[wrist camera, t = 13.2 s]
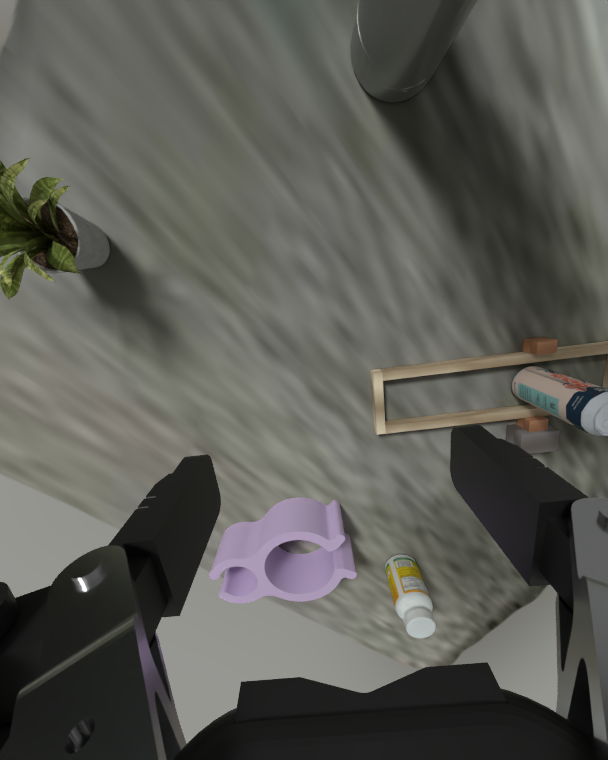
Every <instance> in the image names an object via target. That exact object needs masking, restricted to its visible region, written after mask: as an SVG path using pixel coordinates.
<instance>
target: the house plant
mask: <svg viewBox="0 0 608 760" xmlns="http://www.w3.org/2000/svg"><path fill="white" fill-rule="evenodd" d="M28 159H30V158H27V159H24V160H22V161H20V162H18V163H16V164H13V165H12V166H11V167H9V168H8V169H7V170H6V168H5V167H4V165H3V164H2V162H1V161H0V257H1V256H5V255H6V256H5V257H4V258H3V260H2V263H1V265H0V274H1V275H2V277H1V280H0V282H1V287H2V290H3V292H4V294H5V295H6V297H7V298H8V299H9V298H11V297H13V296H15V295H16V293H17V292H18V289H19V287H20V283H21V279H22V275H23V271H24V269H25V267H27V268H29V269H30V270H32V271H34V272H36V273H37V274H39V275H40V276H42V277H44V278H46V279H48V280H52V281H54V280H53V279H52V278H51V277H50V276H49V275H47V274H46V273H61V272H73V273H79V274H81V273H80V272H79V270H81V269H89V268H96V267H100V266H102V265H103V264H104V263H105V262H106V261H107V259H108V257H109V252H110V247H109V242H108V239H107V237H106V235H105V234H104V232H103V231H102V230H101V229H100V228H99V227H98V226H96V225H95V224H93V223H91V222H90V221H88V220H86V219H84V218H83V217H81V216H79V215H78V214H76V213H74V212H72V211H71V210H69V209H67V208H66V207H64V206H62V205H61V204H59V203H58V200H59V198H60V196H61V195H62V194H63V193H65V192H66V190H67V189H68V187H69V186H65V187H62V188H58V189H56V190H54V189H55V187H56V185H57V183H58V182H59V181H60V180H64V179H58V178H51V177H45V178H42V179H39V180H38V181H36V183H35V184H34V185H33V188H32V191H31V194H30V197H27V198H24V199H23V198H22V197H21V196H20V194H19V193H18V191H17V189H16V187H15V185H14V182H15V179H16V176H17V175H18V174H19V173H20V172H21V171H22V170H23V169H24V167H25V164H26V162H27V160H28ZM53 190H54V191H53ZM48 197H49V198H48ZM15 253H18V254H19V255H18V256H16V257H15V258H13V259H12V260H11V261H10V262H9V263H8V265H7V266H6V268H5V271H3V266H4V264H5V263H6V261H7V259H8V258H9V256H11V255H13V254H15ZM9 300H10V299H9Z"/></svg>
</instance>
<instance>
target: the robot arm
mask: <svg viewBox="0 0 608 760" xmlns="http://www.w3.org/2000/svg"><path fill="white" fill-rule="evenodd" d="M476 2H477V0H359V1H358V6H357V12H356V17H355V23H354V28H353V34H352V42H351V59H352V64H353V68H354V72H355V74H356V76H357V79H358V81H359V82H360V84H361V85H362V87H363V88H364V89H365V90H366V91H367V92H368V93H369V94H370V95H371V96H373V97H375V98H377V99H378V100H381V101H385V102H400V101H404V100H407V99H409V98H411V97H413V96H414V95H416V94H417V93H418V92H419V91H421V90H422V89H423V88H424V87H425V86H426V84H427V83H428V82H429V80H430V79H431V78H432V76H433V74H434V72H435V71H436V69H437V67H438V66H439V64H440V62H441V61H442V59H443V57H444V56H445V54H446V52H447V51H448V49H449V47H450V46H451V44H452V42H453V41H454V39H455V37H456V36H457V34H458V32H459V30H460V29H461V27H462V25H463V24H464V22H465V20H466V19H467V17H468V15H469V14H470V12H471V10H472V9H473V7H474V5H475V3H476ZM450 472H451V478H452V481H453V484H454V486H455V488H456V490H457V491H458V492H459V494H460V495H461V496H462V498H463V499H464V500H465V502H466V503H467V504H468V506H469V507H470V508H471V510H472V511H473V512H474V514H475V515H476V516H477V518H478V519H479V520H480V522H481V523H482V524H483V526H484V527H485V528H486V530H487V531H488V532H489V533H490V535H491V536H492V537H493V539H494V540H495V541H496V543H497V544H498V545H499V547H500V548H501V549H502V551H503V552H504V553H505V555H506V556H507V557H508V559H509V560H510V561H511V563H512V564H513V565H514V567H515V568H516V569H517V571H518V572H519V573H520V574H521V576H522V577H523V578H524V580H525V581H526V582H527V584H528V585H529V586H539V585H550V584H551V586H552V587H553V588H554V589H555V590H556V592H557V597H556V636H557V669H558V670H557V673H558V694H557V708H556V712H554V711H553V710H551V709H549V708H547V707H546V706H543V705H541V704H539V703H537V702H535V701H533V700H531V699H529V698H527V697H524V696H522V695H519V694H516V693H513V692H511V691H508V690H504V689H500V687H499V685H498V683H497V681H496V679H495V677H494V675H493V673H492V671H491V669H490V667H489V665H488V663H474V664H462V665H449V666H436V667H425V668H423V669H421V670H418V671H416V672H414V673H412V674H410V675H407V676H405V677H403V678H401V679H398V680H396V681H394V682H392V683H390V684H387V685H385V686H383V687H381V688H378V689H376V690H374V691H372V692H369V693H359V692H355V691H351V690H347V689H343V688H339V687H336V686H331V685H328V684H324V683H320V682H316V681H312V680H309V679H304V678H301V677H297V678H284V679H272V680H259V681H246V682H241V686H240V692H239V699H238V704H237V708H235V709H233V710H231V711H229V712H227V713H226V714H224V715H222V716H221V717H219V718H218V719H216V720H214V721H213V722H212V723H210V724H209V725H208V726H207V727H205V728H204V729H203V730H202V731H200V732H199V733H198V734H197V735H196V736H195V737H194V738H193V739H192V740H191V741H190V742H189V743H187V744H186V741H185V738H184V735H183V732H182V729H181V725H180V723H179V719H178V715H177V712H176V708H175V704H174V700H173V696H172V692H171V688H170V684H169V680H168V676H167V671H166V667H165V663H164V659H163V655H162V651H161V647H160V643H159V639H158V636H157V634H156V629H157V626H158V624H159V622H160V620H161V617H171V616H180V613H181V611H182V608H183V606H184V603H185V601H186V598H187V595H188V593H189V590H190V588H191V585H192V582H193V580H194V577H195V575H196V572H197V569H198V567H199V564H200V562H201V559H202V556H203V554H204V551H205V549H206V546H207V543H208V541H209V538H210V536H211V533H212V530H213V528H214V525H215V523H216V520H217V517H218V515H219V512H220V505H221V498H220V492H219V488H218V484H217V480H216V476H215V472H214V468H213V464H212V460H211V458H210V456H209V455H199V456H190V457H185V458H183V460H182V461H181V462H180V464H179V465H178V466H177V468H176V469H175V471H174V472H173V473H172V474H168V475H167V476H166V477H164V478H163V479H162V480H160V481H159V482H158V483H157V484H155V485H154V487H153V488H152V489H151V491H150V492H149V493H148V494H147V496H146V499H144V500H143V501H142V502H141V504H140V505H139V506H138V509H136V510H135V511H134V513H133V514H132V515H131V517H130V518H129V519H128V520H127V522H126V523H125V524H124V526H123V527H122V528H121V529H120V531H119V532H118V533H117V535H116V536H115V537H114V539H113V540H112V541H111V542H110V544H109V545H108V546H104V547H100V548H97V549H94V550H92V551H90V552H88V553H86V554H84V555H82V556H81V557H79V558H78V559H76V560H75V561H73V562H72V563H71V564H69V565H68V566H67V567H66V568H65V569H64V570H63V571H62V572H61V573H60V574H59V575H58V576H57V577H56V578H55V580H54V581H53V583H52V585H51V586H48V587H45V588H43V589H40V590H37V591H34V592H31V593H28V594H25V595H23V596H20V597H17V598H15V597H14V596H13V594H12V592H11V590H10V589H9V587H8V585H7V584H6V583H4V582H0V760H608V499H602V498H589V497H587V496H586V495H585V494H583V493H582V492H581V491H579V490H578V489H576V488H575V487H574V486H572V485H571V484H570V483H568V482H567V481H565V480H564V479H563V478H561V477H560V476H559V475H557V474H556V473H555V472H553V471H552V470H550V469H549V468H548V467H546V468H545V466H544V464H542V463H541V462H540V461H538V460H537V459H533V456H531V455H530V454H529V453H527V452H526V451H525V450H523V449H522V448H520V447H519V446H517V445H515V444H512V443H510V442H507V441H505V440H503V439H497V438H496V437H495V436H493V435H492V434H491V433H489V432H488V431H487V430H486V429H484V428H483V427H482V426H480V425H475V426H466V427H457V428H453V430H452V432H451V460H450Z"/></svg>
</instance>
